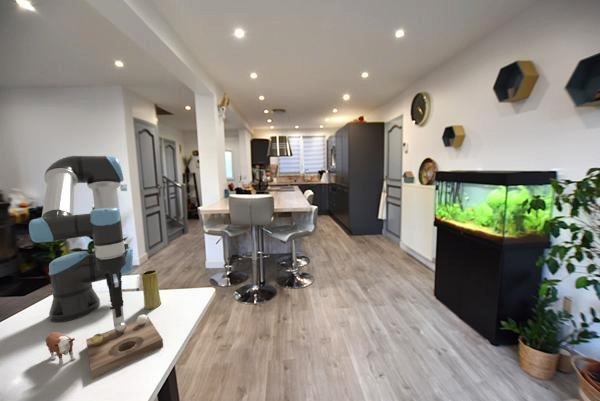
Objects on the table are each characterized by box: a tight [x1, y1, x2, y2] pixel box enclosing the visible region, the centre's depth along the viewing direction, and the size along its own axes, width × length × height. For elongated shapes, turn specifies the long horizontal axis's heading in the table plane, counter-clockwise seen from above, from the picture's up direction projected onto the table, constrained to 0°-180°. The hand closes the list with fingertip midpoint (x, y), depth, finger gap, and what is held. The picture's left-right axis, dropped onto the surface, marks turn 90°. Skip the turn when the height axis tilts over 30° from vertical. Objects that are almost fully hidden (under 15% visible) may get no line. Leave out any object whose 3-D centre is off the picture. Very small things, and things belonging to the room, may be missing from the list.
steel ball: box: [114, 322, 127, 334], centre depth 80 cm, size 3×3×3 cm
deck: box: [85, 316, 164, 380], centre depth 77 cm, size 18×17×2 cm
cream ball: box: [135, 314, 148, 325], centre depth 84 cm, size 3×3×3 cm
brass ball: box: [91, 333, 104, 346], centre depth 75 cm, size 3×3×3 cm
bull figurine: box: [45, 331, 76, 366], centre depth 72 cm, size 4×13×8 cm, turn 58°
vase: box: [141, 269, 162, 310], centre depth 101 cm, size 6×6×14 cm
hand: (119, 324), depth 82 cm, fingers closed
